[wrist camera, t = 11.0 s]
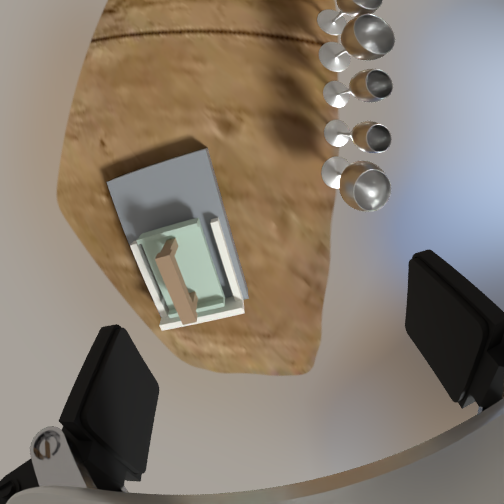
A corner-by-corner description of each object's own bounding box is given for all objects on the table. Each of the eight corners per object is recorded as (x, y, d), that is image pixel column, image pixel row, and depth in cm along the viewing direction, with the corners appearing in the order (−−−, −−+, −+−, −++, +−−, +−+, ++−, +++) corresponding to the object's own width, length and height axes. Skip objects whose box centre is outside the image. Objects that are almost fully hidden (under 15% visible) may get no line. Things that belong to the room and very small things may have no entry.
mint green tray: (144, 229, 39) (125, 254, 32) (199, 213, 39) (192, 236, 31) (173, 302, 44) (164, 337, 36) (225, 291, 44) (224, 325, 36)
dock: (114, 178, 39) (96, 187, 33) (207, 147, 38) (203, 151, 32) (164, 307, 48) (157, 331, 42) (247, 288, 47) (250, 311, 41)
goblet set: (311, 6, 31) (341, -33, 19) (349, 11, 31) (390, -21, 19) (317, 192, 42) (351, 220, 30) (354, 191, 42) (398, 219, 30)
